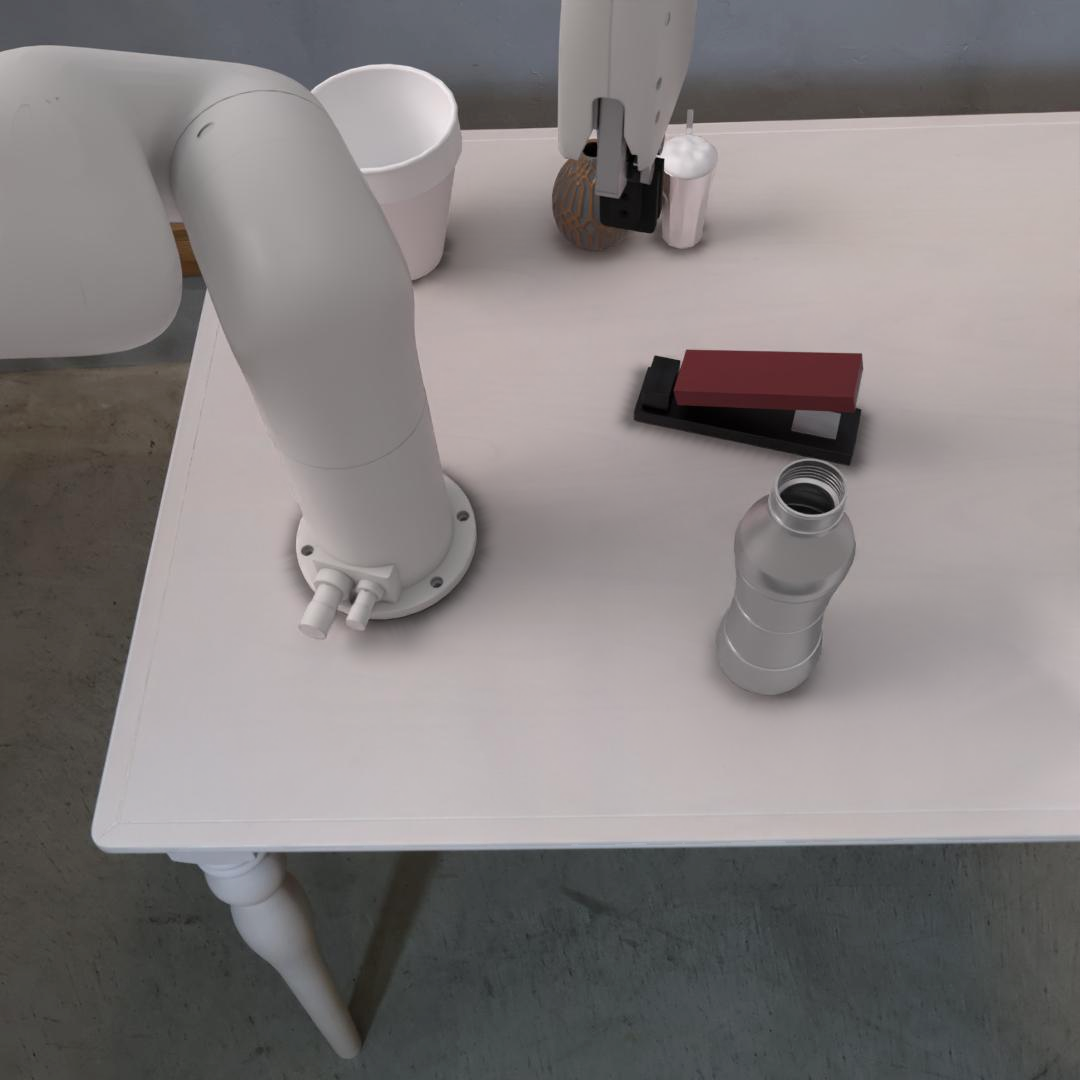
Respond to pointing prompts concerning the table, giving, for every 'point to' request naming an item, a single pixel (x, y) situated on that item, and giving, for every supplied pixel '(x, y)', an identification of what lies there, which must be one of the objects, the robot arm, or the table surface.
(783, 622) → the plastic bottle
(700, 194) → the milkshake
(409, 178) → the cup
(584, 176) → the vase
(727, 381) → the stapler arm
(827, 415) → the stapler base
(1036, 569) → the table surface
